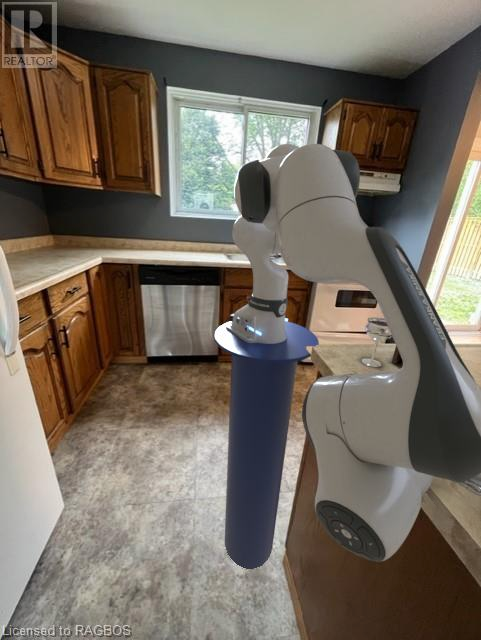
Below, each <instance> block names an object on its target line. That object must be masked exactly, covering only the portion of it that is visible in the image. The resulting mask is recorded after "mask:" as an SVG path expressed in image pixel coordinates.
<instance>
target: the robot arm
mask: <svg viewBox="0 0 481 640" xmlns="http://www.w3.org/2000/svg"><path fill="white" fill-rule="evenodd" d="M359 165H360V164H359V162H358V160H357V158H356V157H355V156H354V154H353V153H351V151H346V150H342V149H341V150H340V149H332V148H330V147H329V146H327V145H325V144H320V143H308V144H305V145H302V146H298V145H295V144H291V143H282V144H280V145H279V144H278V145H277V146H275V147H273V148H272V149H271V150H270V151H269V152H268V154H267V155H266V157H265V158H264V159H262V160H259V159H258V158H257V159H254V160H251V161H247V162H246V163H244V164H242V165H241V166H240V168H239V169H238V171H237V176H236V178H235V182H234V188H233V193H234V195H233V196H234V201H235V204H236V207H237V210H238V212H239V213H240V214H241V215H240V216H238V218H237V219H236V220H235V222H234V223H233V225H232V229H231V237H232V240H233V243H234V245H235V246H236V247H237V248H238V249H239V250H240V251H241V252H242V253H243V254H244V255H245V256H246V258H247V259H248V261H249V264H250V266H251V271H252V283H253V284H252V293H251V294H249V295H246V298H245V299H246V300H248V302H247V304H246V305H244V306H242V307H241V308H239V309H238V310H236V311H235V312H234V313H231V314H230V315H229V322H230V321H231V322H230V323H229V324H227V325H226V329H228V330H229V331H230V332H232V333H233V334H235V335H236V336H238V337H239V338H241V339H242V340H244V341H245V342H247V343H263V344H276V343H281V342H283V341H285V340H286V339H287V335H286V328H285V321H287V322H289V318H286V312H287V307H288V285H289V273H288V271H287V270H286V269H285V268H284V267H283V266H282V265H280V264H279V263H276V262H275V261H273V259H272V258H271V254H281V257H282V259H283V261H284V264H285V265H286V267H288V269H289V270H290V271H291V272H292V273H293V274H295V275H296V276H297V277H299V278H301V279H303V280H305V281H309V282H312V283H315V284H316V283H317V284H324V285H338V286H339V285H344V286H345V285H346V286H347V285H351V286H361V287H364V288H366V289H367V290H368V291H369V292H370V293H371V294H372V295H373V297H374V298H375V300H376V301H377V305H378V306H379V309H380V311H381V314H382V317H383V319H385V320H386V323H387V325H388V327H389V330H390V332H391V334H392V337H391V338H392V339H393V341H394V343H395V347H396V346H397V348H398V350H399V353H400V355H401V357H402V358H401V360H402V367H401V368H398V369H392V370H391V369H390V370H382V371H372V372H371V371H370V372H362V373H361V372H360V373H358V372H354V373H353V372H352V373H344V374H334V375H327V376H320V377H318V378H317V379H315V381H314V382H312V383H311V385H310V386H309V388H308V390H307V392H306V394H305V396H304V400H303V403H302V408H301V409H302V410H301V420H302V425H303V428H304V432H305V434H306V437H307V439H308V441H309V443H310V445H311V447H312V449H313V451H314V453H315V456H316V464H317V473H318V478H317V479H318V480H317V488H316V491H315V499H314V509H315V513H316V516H317V518H318V521H319V522H320V524H321V526H322V527H323V529H324V530H325V531H326V533H327V534H328V535H329V536H330V538H332V539H333V540H334V541H335V542H337V544H339V545H340V546H341V547H342V548H343V549H345V550H347V551H348V552H350V553H352V554H354V555H356V556H358V557H361V558H363V559H366V560H368V561H372V562H376V563H380V562H385V561H386V560H388V559H390V558H391V557H392V556H393V555H394V554H396V553H397V552H398V550H399V549H400V548H401V547H402V545H403V544H404V542H405V541H406V539H407V537H408V536H409V533H410V532H411V530H412V528H413V527H414V524H415V522H416V520H417V518H418V515H419V513H420V510H421V508H422V501H423V500H422V496H423V495H424V494H426V493H427V491H428V490H429V488H430V486H431V484H432V482H433V479H434V477H435V478H440V479H443V480H448V481H451V482H453V483H454V484H457V485H459V486H461V487H462V488H464V489H466V491H468V492H470V493H472V494H473V495H476V496H478V497H481V388H480V386H479V385H478V384H477V382H476V380H475V379H474V376H473V375H472V374H471V372H470V370H469V369H468V367H467V365H466V364H465V362H464V361H463V359H462V357H461V355H460V353H459V352H458V350H457V349H456V346H455V343H454V342H453V341H452V338H451V337H450V335H449V332H448V331H447V329H446V327H445V325H444V323H443V320H442V319H441V317H440V315H439V313H438V311H437V310H436V307H435V305H434V303H433V301H432V299H431V298H430V296H429V293H428V292H427V290H426V288H425V286H424V284H423V282H422V279H421V278H420V276H419V274H418V272H417V271H416V269H415V267H414V266H413V264H412V262H411V261H410V258H409V257H408V255H407V253H406V252H405V250H404V249H403V246H401V244H400V243H399V242H398V240H397V239H396V238H395V237H394V236H393V235H392V234H391V232H389V231H388V230H386V229H385V228H383V227H381V226H368V224H366V222H364V220H363V218H362V217H361V215H360V212H359V209H358V204H357V200H356V198H357V196H358V193H359V189H360V183H361V182H360V179H361V172H360V166H359ZM447 332H448V333H447Z"/></svg>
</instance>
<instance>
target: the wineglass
mask: <svg viewBox="0 0 481 640" xmlns="http://www.w3.org/2000/svg"><path fill="white" fill-rule="evenodd" d="M365 333H366V335H367V336H368V337H369V338H370V339H372V340H373V342H374V344H373V349H372V354H371V358H363V359H361V363H362V364H364V365H366V366H369V367H370V368H371V367H372V368H380V367H382V363H381V362H380V361H378V360H376V359H374V358H375V354H376V351H377V348H378V345H379V343H380V342H385V341H387V340H389V339H391V338H393V337H392V334H391V332H390V330H389V327H388V325H387V323H386V320H385V318H384V317H383V318H382V317H368V318H367V323H366V324H365Z"/></svg>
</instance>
